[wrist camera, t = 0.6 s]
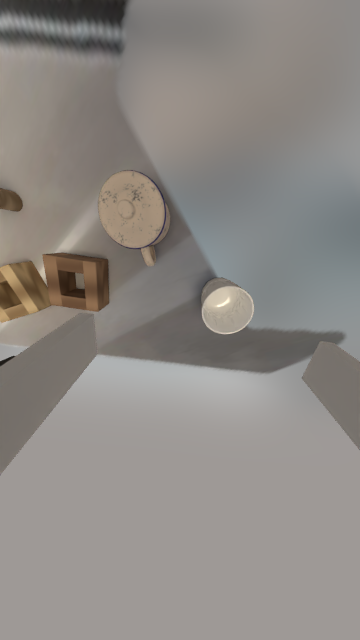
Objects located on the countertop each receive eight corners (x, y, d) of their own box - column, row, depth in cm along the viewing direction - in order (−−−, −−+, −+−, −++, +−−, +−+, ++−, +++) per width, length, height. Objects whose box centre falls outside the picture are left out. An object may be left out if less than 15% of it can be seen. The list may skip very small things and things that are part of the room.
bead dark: (61, 252, 35) (42, 254, 30) (107, 259, 35) (95, 262, 30) (67, 297, 38) (50, 304, 34) (109, 303, 39) (98, 311, 34)
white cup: (209, 318, 39) (215, 341, 30) (191, 286, 36) (192, 302, 27) (243, 300, 37) (261, 320, 28) (227, 266, 34) (241, 275, 25)
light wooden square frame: (-5, 274, 37) (-32, 279, 33) (31, 261, 36) (8, 264, 31) (22, 313, 41) (1, 322, 36) (56, 302, 39) (38, 311, 35)
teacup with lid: (113, 196, 31) (72, 172, 20) (164, 181, 30) (150, 148, 19) (134, 267, 35) (111, 278, 25) (180, 257, 34) (175, 264, 24)
